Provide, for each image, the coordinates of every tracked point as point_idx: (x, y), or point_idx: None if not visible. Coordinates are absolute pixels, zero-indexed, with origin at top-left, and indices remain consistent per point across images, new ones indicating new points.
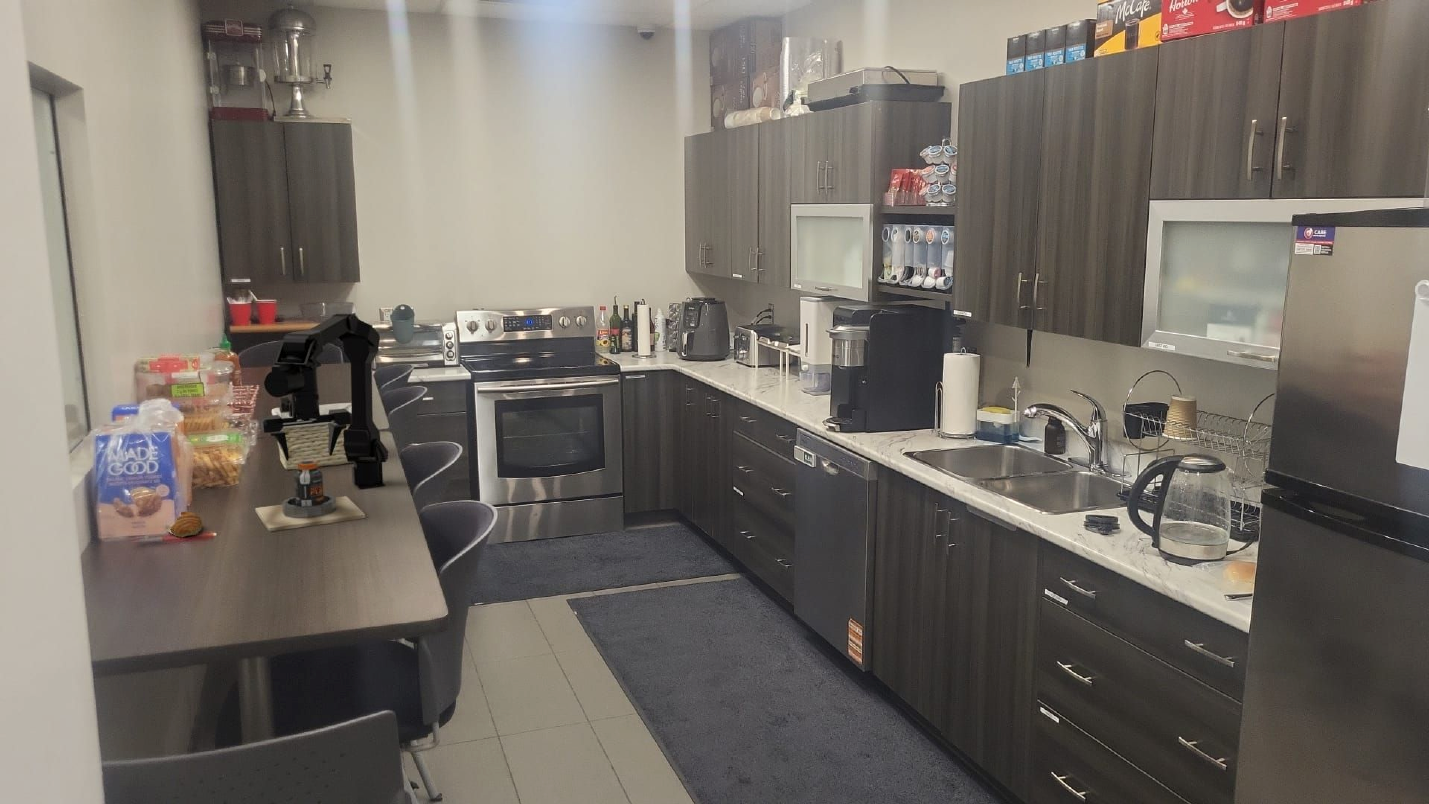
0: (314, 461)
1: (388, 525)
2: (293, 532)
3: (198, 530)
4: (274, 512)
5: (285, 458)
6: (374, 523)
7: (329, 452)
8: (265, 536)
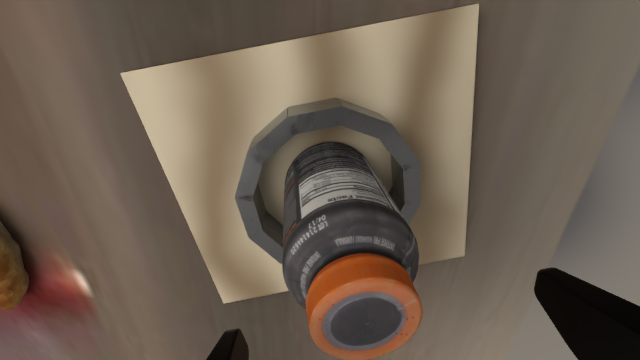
0: (411, 310)
1: (485, 309)
2: (284, 310)
3: (25, 291)
4: (211, 162)
5: (221, 342)
6: (464, 291)
7: (553, 305)
8: (222, 322)
